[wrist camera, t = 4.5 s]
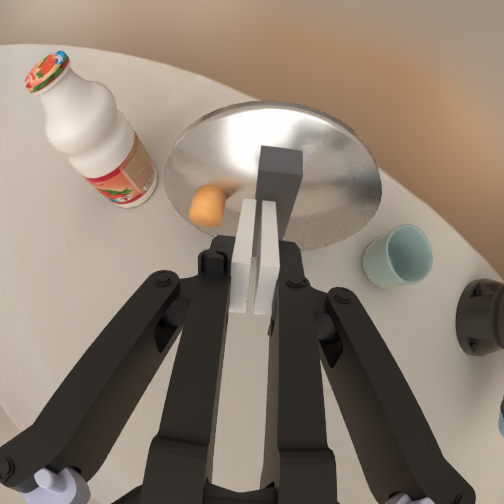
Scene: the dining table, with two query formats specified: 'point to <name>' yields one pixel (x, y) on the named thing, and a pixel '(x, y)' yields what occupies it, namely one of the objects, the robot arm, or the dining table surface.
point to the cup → (398, 257)
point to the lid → (274, 173)
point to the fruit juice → (92, 132)
